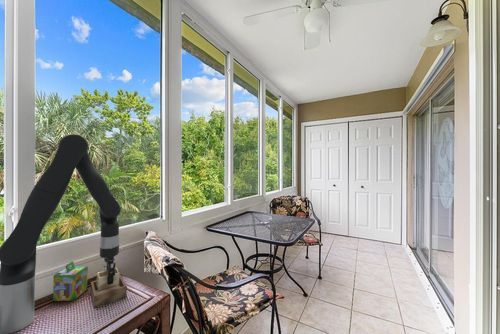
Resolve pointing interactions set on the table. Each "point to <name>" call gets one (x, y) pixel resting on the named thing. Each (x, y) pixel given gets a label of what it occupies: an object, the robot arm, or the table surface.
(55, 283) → the chalk box
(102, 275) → the pine crate
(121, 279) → the walnut crate
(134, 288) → the table surface
